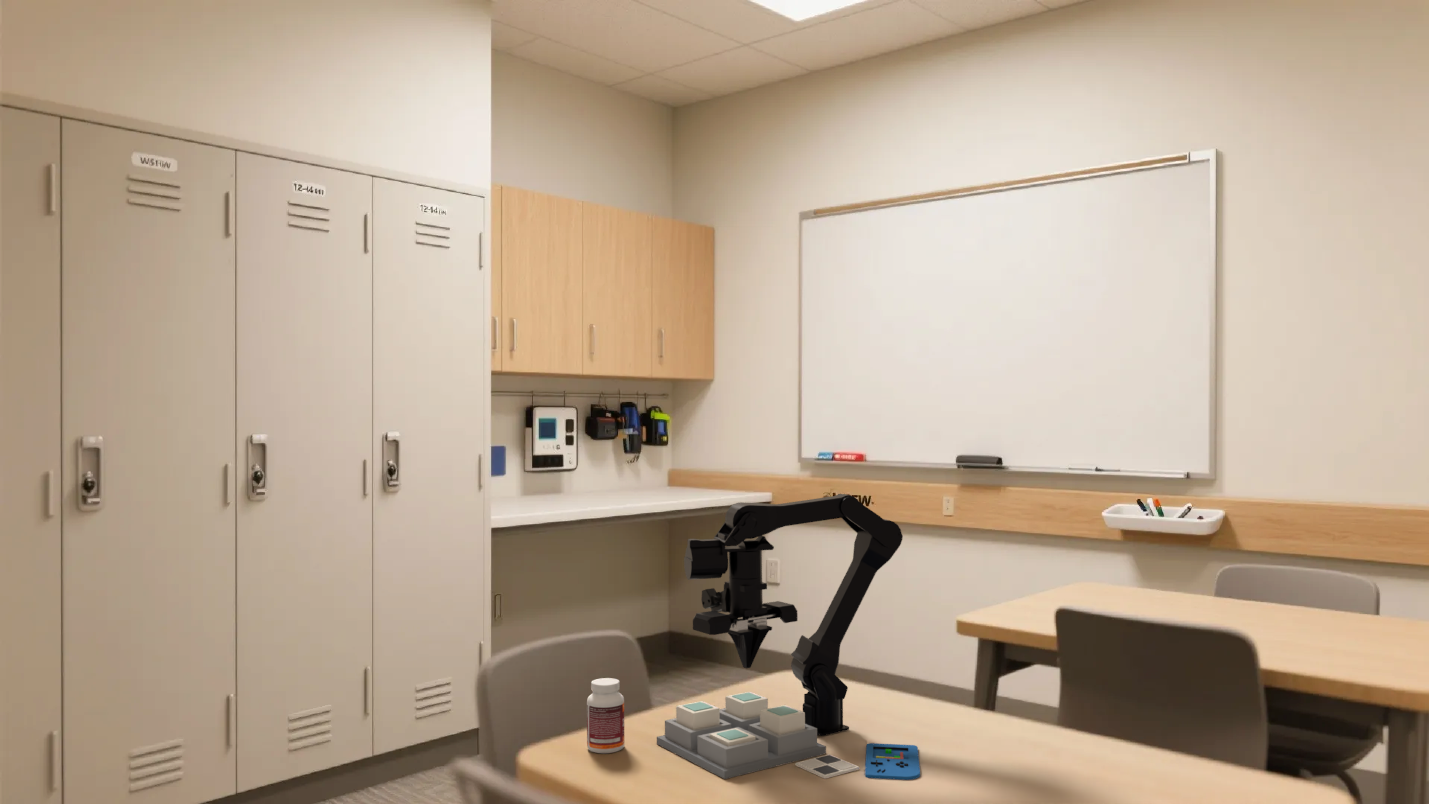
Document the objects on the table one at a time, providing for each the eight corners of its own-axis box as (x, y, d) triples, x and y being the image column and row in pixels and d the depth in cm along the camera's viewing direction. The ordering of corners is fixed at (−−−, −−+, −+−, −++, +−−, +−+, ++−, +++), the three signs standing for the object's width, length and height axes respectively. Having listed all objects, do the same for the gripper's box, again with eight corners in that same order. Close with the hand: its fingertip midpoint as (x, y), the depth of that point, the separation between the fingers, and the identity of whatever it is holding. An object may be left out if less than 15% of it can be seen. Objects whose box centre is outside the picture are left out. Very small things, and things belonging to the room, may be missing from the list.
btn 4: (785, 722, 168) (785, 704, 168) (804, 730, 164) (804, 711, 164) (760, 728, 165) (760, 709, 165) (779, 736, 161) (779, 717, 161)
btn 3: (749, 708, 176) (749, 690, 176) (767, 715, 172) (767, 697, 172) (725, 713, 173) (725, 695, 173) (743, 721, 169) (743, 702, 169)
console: (753, 723, 180) (752, 700, 180) (826, 753, 163) (825, 728, 163) (656, 743, 168) (656, 719, 168) (724, 779, 152) (724, 752, 152)
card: (829, 756, 162) (829, 753, 162) (859, 769, 156) (859, 766, 156) (795, 765, 158) (795, 762, 158) (824, 778, 152) (824, 775, 152)
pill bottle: (631, 750, 166) (631, 682, 166) (597, 757, 162) (597, 688, 162) (613, 740, 171) (613, 674, 171) (580, 746, 167) (580, 680, 167)
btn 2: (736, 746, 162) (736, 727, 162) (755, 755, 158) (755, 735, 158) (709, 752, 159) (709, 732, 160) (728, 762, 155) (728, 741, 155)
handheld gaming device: (865, 772, 152) (866, 741, 167) (865, 780, 152) (866, 747, 167) (920, 775, 151) (917, 743, 166) (920, 783, 151) (917, 750, 166)
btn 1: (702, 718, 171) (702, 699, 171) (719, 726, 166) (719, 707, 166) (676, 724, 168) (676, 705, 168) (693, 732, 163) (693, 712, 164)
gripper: (760, 566, 185) (761, 651, 185) (674, 576, 174) (675, 666, 174) (798, 573, 176) (800, 663, 175) (711, 584, 165) (712, 680, 165)
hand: (746, 667), depth 173 cm, fingers closed
